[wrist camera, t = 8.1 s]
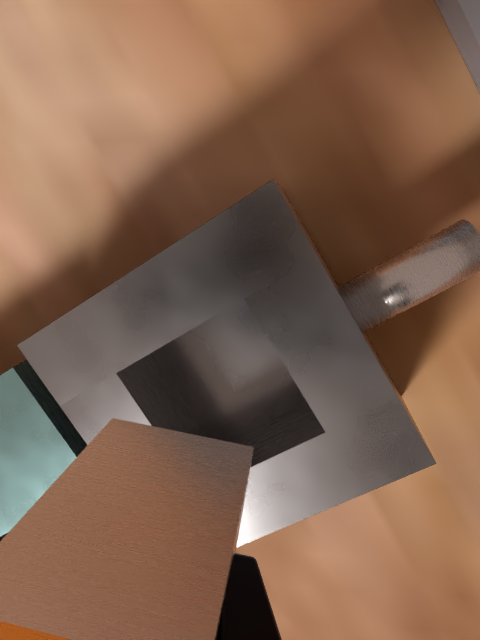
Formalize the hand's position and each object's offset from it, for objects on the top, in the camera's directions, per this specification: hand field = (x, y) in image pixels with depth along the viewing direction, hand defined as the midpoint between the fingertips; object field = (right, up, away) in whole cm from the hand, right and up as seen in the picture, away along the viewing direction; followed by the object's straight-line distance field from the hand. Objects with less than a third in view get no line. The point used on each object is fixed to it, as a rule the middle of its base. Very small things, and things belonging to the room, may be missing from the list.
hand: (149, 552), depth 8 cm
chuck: (-1, +1, +12) cm, 12 cm away
